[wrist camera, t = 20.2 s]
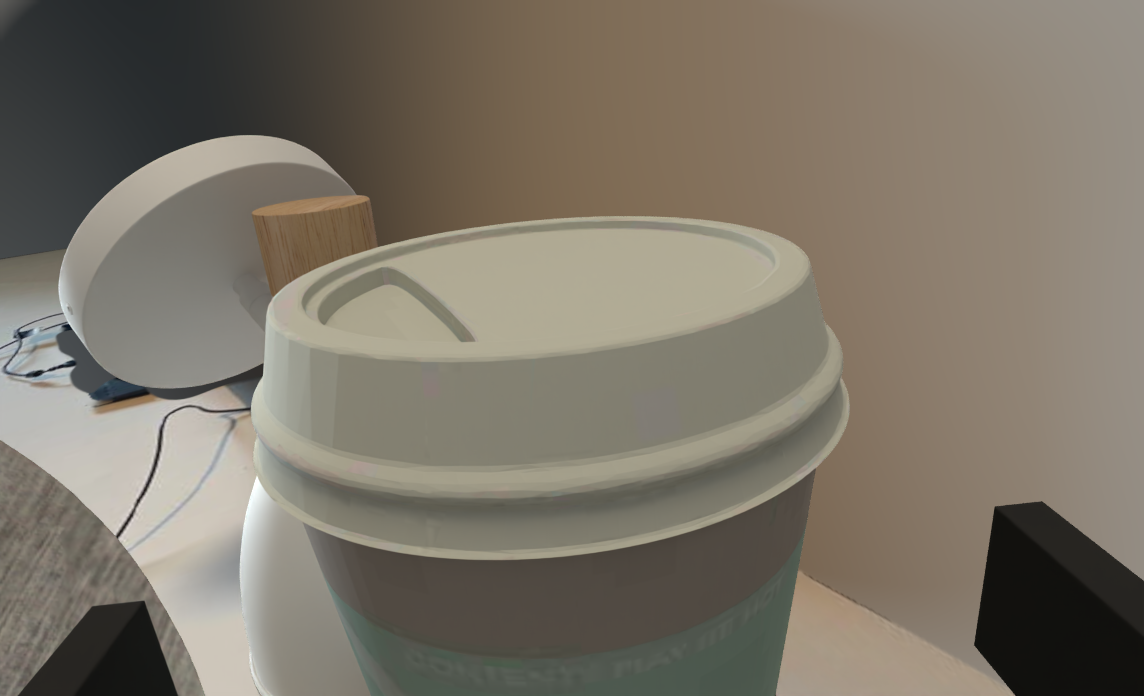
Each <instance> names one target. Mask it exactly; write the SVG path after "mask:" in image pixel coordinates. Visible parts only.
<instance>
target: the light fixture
mask: <svg viewBox="0 0 1144 696" xmlns="http://www.w3.org/2000/svg"><path fill="white" fill-rule="evenodd" d="M377 247H378V244H377V239H376V233H375V227H374V221H373V216H372V210H371V204H370V199H369V198H368V197H366V196H358V195H356V194H355V192H354V191H353V190H352V188H351V187H350V186H349V185H348V184H347V183H346V182H345V181H344V180H343V179H342V178H341V177H340V176H339V175H338V174H337V173H336V172H335V171H334V170H333V169H332V168H331V167H330V166H329V165H328V164H327V163H326V162H325V161H324V160H323V159H322V158H320V157H319V156H318V155H317V154H315V153H314V152H312V151H310V150H309V149H307V148H305V147H303V146H301V145H299V144H296V143H294V142H291V141H287V140H284V139H280V138H275V137H268V136H255V135H244V136H230V137H223V138H217V139H213V140H208V141H204V142H201V143H197V144H193V145H191V146H187V147H185V148H182V149H179V150H177V151H174V152H172V153H170V154H167V155H165V156H163V157H161V158H159V159H157V160H155V161H153V162H152V163H150V164H148V165H146V166H144V167H143V168H141V169H139V170H138V171H136V172H135V173H133V174H132V175H130V176H129V177H127V178H126V179H125V180H123V181H122V182H121V183H120V184H118V185H117V186H116V187H115V188H113V189H112V191H110V192H109V193H108V194H107V195H106V196H105V197H104V198H102V200H101V201H100V202H99V203H98V204H97V205H96V206H95V207H94V208H93V209H92V210H91V212H90V213H89V214H88V215H87V217H86V218H85V219H84V221H83V222H82V224H81V225H80V227H79V228H78V230H77V231H76V233H75V235H74V236H73V238H72V240H71V242H70V244H69V247H68V249H67V251H66V254H65V256H64V259H63V263H62V266H61V271H60V277H59V297H60V303H61V307H62V310H63V313H64V315H65V317H66V319H67V321H68V323H69V324H70V326H71V328H72V329H73V330H74V332H75V333H76V334H77V336H78V337H79V338H80V340H81V341H82V343H83V344H84V345H85V347H86V348H87V349H88V351H89V352H90V353H91V355H92V356H93V358H94V359H95V360H96V361H97V362H98V363H99V364H100V365H101V366H102V367H103V368H104V369H105V370H107V371H108V372H109V373H111V374H112V375H114V376H116V377H118V378H120V379H122V380H124V381H127V382H129V383H132V384H136V385H140V386H146V387H153V388H183V387H191V386H198V385H203V384H207V383H212V382H216V381H219V380H223V379H226V378H229V377H232V376H235V375H237V374H240V373H242V372H245V371H247V370H249V369H251V368H253V367H256V366H258V365H260V364H261V363H264V353H265V332H266V315H267V310H268V305H269V304H270V302H271V301H272V299H273V298H274V296H275V295H276V294H277V293H278V292H279V291H280V290H281V289H283V288H284V287H285V286H286V285H288V284H289V283H291V282H292V281H294V280H296V279H297V278H299V277H301V276H303V275H305V274H307V273H309V272H310V271H312V270H315V269H317V268H319V267H322V266H324V265H327V264H329V263H332V262H334V261H337V260H339V259H342V258H345V257H348V256H351V255H354V254H358V253H361V252H364V251H367V250H371V249H374V248H377ZM240 590H241V602H242V611H243V618H244V624H245V630H246V634H247V639H248V643H249V646H250V659H249V660H250V670H251V674H252V678H253V681H254V683H255V685H256V688H257V689H258V691H259V692H260V694H261V695H262V696H371V695H370V692H369V690H368V687H367V684H366V682H365V679H364V677H363V674H362V672H361V669H360V667H359V664H358V662H357V659H356V657H355V654H354V652H353V649H352V647H351V644H350V642H349V639H348V637H347V634H346V632H345V629H344V627H343V624H342V622H341V619H340V617H339V614H338V612H337V609H336V607H335V604H334V602H333V599H332V597H331V594H330V592H329V589H328V587H327V584H326V582H325V579H324V577H323V574H322V572H321V569H320V566H319V563H318V561H317V558H316V556H315V553H314V550H313V548H312V545H311V543H310V540H309V538H308V535H307V533H306V530H305V527H304V525H303V522H302V521H301V520H299V519H297V518H296V517H294V516H292V515H291V514H290V513H288V512H287V511H285V510H284V509H283V508H282V507H280V506H279V505H278V504H277V503H276V502H275V501H274V500H273V499H272V498H271V497H270V496H269V495H268V494H267V492H266V491H265V490H264V488H263V487H262V485H261V483H260V482H259V480H258V477H257V478H256V481H255V484H254V487H253V490H252V494H251V497H250V501H249V504H248V508H247V513H246V517H245V523H244V528H243V535H242V544H241V554H240Z"/></svg>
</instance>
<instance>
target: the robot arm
mask: <svg viewBox="0 0 1144 696" xmlns="http://www.w3.org/2000/svg"><path fill="white" fill-rule="evenodd" d="M974 646H975V647H976V648H977V649H978V651H979V652H980V653H981V654H982V655H983V657H984V658H985V659H986V660H987V661H988V663H989V664H990V665H991V666H992V668H993V669H994V670H995V671H996V672H997V674H998V675H999V676H1000V677H1001V679H1002V680H1003V681H1004V682H1005V683H1006V685H1007V686H1008V687H1009V688H1010V689H1011V691H1012V692H1013V693H1014V694H1015V696H1144V581H1143V580H1142V579H1141V578H1139V577H1138V576H1137V575H1135V574H1134V573H1133V572H1132V571H1130V570H1129V569H1128V568H1127V567H1125V566H1124V565H1123V564H1121V563H1120V562H1119V561H1117V560H1116V559H1115V558H1114V557H1112V556H1111V555H1110V554H1109V553H1107V552H1106V551H1105V550H1103V549H1102V548H1101V547H1100V546H1098V545H1097V544H1096V543H1095V542H1093V541H1092V540H1091V539H1089V538H1088V537H1087V536H1085V535H1084V534H1083V533H1082V532H1080V531H1079V530H1078V529H1077V528H1075V527H1074V526H1073V525H1071V524H1070V523H1069V522H1068V521H1066V520H1065V519H1064V518H1062V517H1061V516H1060V515H1059V514H1057V513H1056V512H1055V511H1054V510H1052V509H1051V508H1050V507H1049V506H1047V505H1046V504H1045V503H1043V502H1042V501H1041V502H1032V503H1023V504H1014V505H1005V506H996V507H995V509H994V515H993V522H992V529H991V536H990V542H989V550H988V556H987V562H986V569H985V576H984V583H983V589H982V596H981V602H980V609H979V616H978V623H977V629H976V636H975V643H974ZM18 696H178V694H177V691H176V688H175V685H174V682H173V680H172V677H171V674H170V671H169V668H168V666H167V663H166V660H165V657H164V654H163V652H162V649H161V646H160V643H159V640H158V637H157V635H156V632H155V629H154V626H153V623H152V621H151V618H150V615H149V612H148V609H147V607H146V604H145V601H135V602H126V603H117V604H107V605H98V606H92V607H91V608H90V609H89V611H88V612H87V613H86V614H85V615H84V617H83V618H82V619H81V620H80V621H79V623H78V624H77V625H76V626H75V627H74V629H73V630H72V631H71V632H70V633H69V635H68V636H67V637H66V638H65V639H64V641H63V642H62V643H61V644H60V645H59V647H58V648H57V649H56V650H55V651H54V653H53V654H52V655H51V656H50V657H49V659H48V660H47V661H46V662H45V663H44V665H43V666H42V667H41V668H40V669H39V671H38V672H37V673H36V674H35V675H34V677H33V678H32V679H31V680H30V681H29V683H28V684H27V685H26V686H25V687H24V689H23V690H22V691H21V692H20V693H19V695H18Z"/></svg>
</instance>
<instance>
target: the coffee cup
mask: <svg viewBox="0 0 1144 696" xmlns="http://www.w3.org/2000/svg"><path fill="white" fill-rule="evenodd" d="M842 370H843V355H842V349H841V347H840V344H839V341H838V340H837V338H836V336H835V335H834V333H833V331H832V330H831V329H830V328H829V326H827V324H826V323H825V322H824V318H823V314H822V311H821V306H820V302H819V298H818V293H817V290H816V286H815V281H814V277H813V273H812V269H811V264H810V262H809V259H808V257H807V256H806V254H805V253H804V252H803V251H802V250H801V249H800V248H799V247H798V246H796V245H795V244H794V243H792V242H790V241H788V240H786V239H784V238H782V237H780V236H777V235H774V234H771V233H769V232H765V231H762V230H758V229H754V228H750V227H745V226H741V225H735V224H729V223H722V222H716V221H708V220H697V219H687V218H672V217H647V216H609V217H579V218H563V219H549V220H537V221H526V222H515V223H507V224H499V225H491V226H484V227H476V228H470V229H464V230H457V231H451V232H445V233H440V234H435V235H430V236H425V237H420V238H415V239H410V240H406V241H402V242H398V243H394V244H390V245H386V246H381V247H377V248H374V249H371V250H367V251H364V252H361V253H358V254H354V255H351V256H348V257H345V258H342V259H339V260H337V261H334V262H332V263H329V264H327V265H324V266H322V267H319V268H317V269H315V270H312V271H310V272H309V273H307V274H305V275H303V276H301V277H299V278H297V279H296V280H294V281H292V282H291V283H289V284H288V285H286V286H285V287H284V288H283V289H281V290H280V291H279V292H278V293H277V294H276V295H275V296H274V298H273V299H272V301H271V302H270V304H269V305H268V310H267V315H266V332H265V353H264V375H263V377H262V379H261V381H260V382H259V384H258V386H257V388H256V390H255V393H254V395H253V399H252V404H251V417H252V423H253V427H254V429H255V431H256V433H257V437H256V440H255V444H254V450H253V462H254V468H255V472H256V475H257V477H258V480H259V482H260V483H261V485H262V487H263V488H264V490H265V491H266V492H267V494H268V495H269V496H270V497H271V498H272V499H273V500H274V501H275V502H276V503H277V504H278V505H279V506H280V507H282V508H283V509H284V510H285V511H287V512H288V513H290V514H291V515H292V516H294V517H296V518H297V519H299V520H301V521H302V522H303V525H304V527H305V530H306V533H307V535H308V538H309V540H310V543H311V545H312V548H313V550H314V553H315V556H316V558H317V561H318V563H319V566H320V569H321V572H322V574H323V577H324V579H325V582H326V584H327V587H328V589H329V592H330V594H331V597H332V599H333V602H334V604H335V607H336V609H337V612H338V614H339V617H340V619H341V622H342V624H343V627H344V629H345V632H346V634H347V637H348V639H349V642H350V644H351V647H352V649H353V652H354V654H355V657H356V659H357V662H358V664H359V667H360V669H361V672H362V674H363V677H364V679H365V682H366V684H367V687H368V690H369V692H370V695H371V696H775V694H776V688H777V683H778V677H779V672H780V666H781V661H782V655H783V650H784V644H785V639H786V633H787V628H788V622H789V617H790V611H791V606H792V600H793V595H794V589H795V584H796V578H797V573H798V567H799V562H800V556H801V551H802V545H803V538H804V534H805V529H806V523H807V517H808V510H809V505H810V499H811V493H812V488H813V482H814V476H815V470H816V467H817V466H818V465H819V464H820V463H821V462H822V461H823V460H824V459H825V458H826V457H827V456H828V455H829V454H830V452H831V451H832V450H833V449H834V447H835V446H836V445H837V443H838V441H839V440H840V438H841V436H842V434H843V432H844V430H845V428H846V425H847V421H848V417H849V408H850V406H849V396H848V392H847V389H846V386H845V384H844V382H843V380H842V378H841V375H842Z"/></svg>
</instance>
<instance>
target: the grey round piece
mask: <svg viewBox="0 0 1144 696" xmlns="http://www.w3.org/2000/svg"><path fill="white" fill-rule="evenodd" d="M135 601H145V604H146V607H147V609H148V612H149V615H150V618H151V621H152V623H153V626H154V629H155V632H156V635H157V637H158V640H159V643H160V646H161V649H162V652H163V654H164V657H165V660H166V663H167V666H168V668H169V671H170V674H171V677H172V680H173V682H174V685H175V688H176V691H177V694H178V696H205V694H204V691H203V688H202V685H201V683H200V680H199V677H198V674H197V672H196V669H195V667H194V665H193V662H192V660H191V657H190V655H189V653H188V651H187V649H186V647H185V645H184V643H183V640H182V638H181V636H180V635H179V633H178V631H177V629H176V628H175V626H174V624H173V622H172V620H171V618H170V617H169V615H168V613H167V611H166V610H165V608H164V606H163V605H162V603H161V602H160V600H159V598H158V596H157V595H156V593H155V591H154V590H153V588H152V586H151V584H150V582H149V581H148V579H147V578H146V576H145V575H144V573H143V572H142V571H141V569H140V568H139V566H138V565H137V563H136V562H135V561H134V559H133V558H132V557H131V555H130V554H129V553H128V551H127V550H126V549H125V548H124V546H123V545H122V544H121V543H120V541H119V540H118V539H117V538H116V537H115V535H114V534H113V533H112V532H111V531H110V530H109V529H108V528H107V527H106V526H105V525H104V523H103V522H102V521H101V520H100V519H99V518H98V517H97V516H96V515H95V514H94V513H93V512H92V511H91V510H89V509H88V508H87V507H86V506H85V505H84V504H83V503H82V502H81V501H80V500H79V499H78V498H77V497H76V496H75V495H74V494H73V493H72V492H71V491H70V490H68V489H67V488H66V487H65V486H64V485H63V484H61V483H60V482H59V481H58V480H56V479H55V478H54V477H52V476H51V475H50V474H49V473H47V472H46V471H44V470H43V469H42V468H40V467H39V466H38V465H36V464H35V463H34V462H32V461H31V460H29V459H28V458H27V457H25V456H24V455H22V454H20V453H19V452H18V451H16V450H15V449H13V448H11V447H10V446H8V445H7V444H5V443H4V442H2V441H1V440H0V696H18V695H19V693H20V692H21V691H22V690H23V689H24V687H25V686H26V685H27V684H28V683H29V681H30V680H31V679H32V678H33V677H34V675H35V674H36V673H37V672H38V671H39V669H40V668H41V667H42V666H43V665H44V663H45V662H46V661H47V660H48V659H49V657H50V656H51V655H52V654H53V653H54V651H55V650H56V649H57V648H58V647H59V645H60V644H61V643H62V642H63V641H64V639H65V638H66V637H67V636H68V635H69V633H70V632H71V631H72V630H73V629H74V627H75V626H76V625H77V624H78V623H79V621H80V620H81V619H82V618H83V617H84V615H85V614H86V613H87V612H88V611H89V609H90V608H91V607H92V606H98V605H107V604H117V603H126V602H135Z"/></svg>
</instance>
